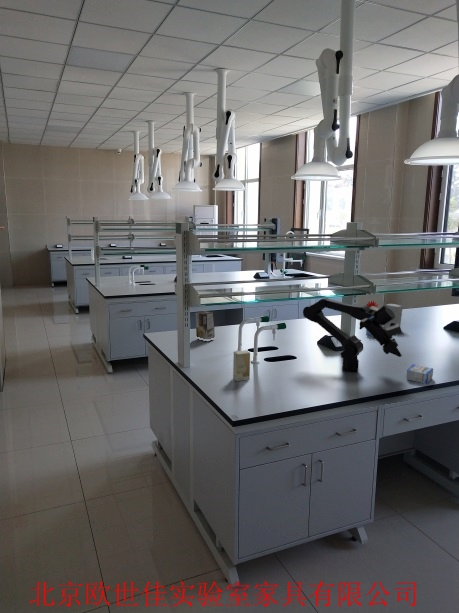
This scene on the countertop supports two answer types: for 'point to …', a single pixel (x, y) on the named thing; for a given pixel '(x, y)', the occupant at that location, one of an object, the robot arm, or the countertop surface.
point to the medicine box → (419, 373)
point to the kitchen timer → (371, 306)
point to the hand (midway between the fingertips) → (400, 356)
